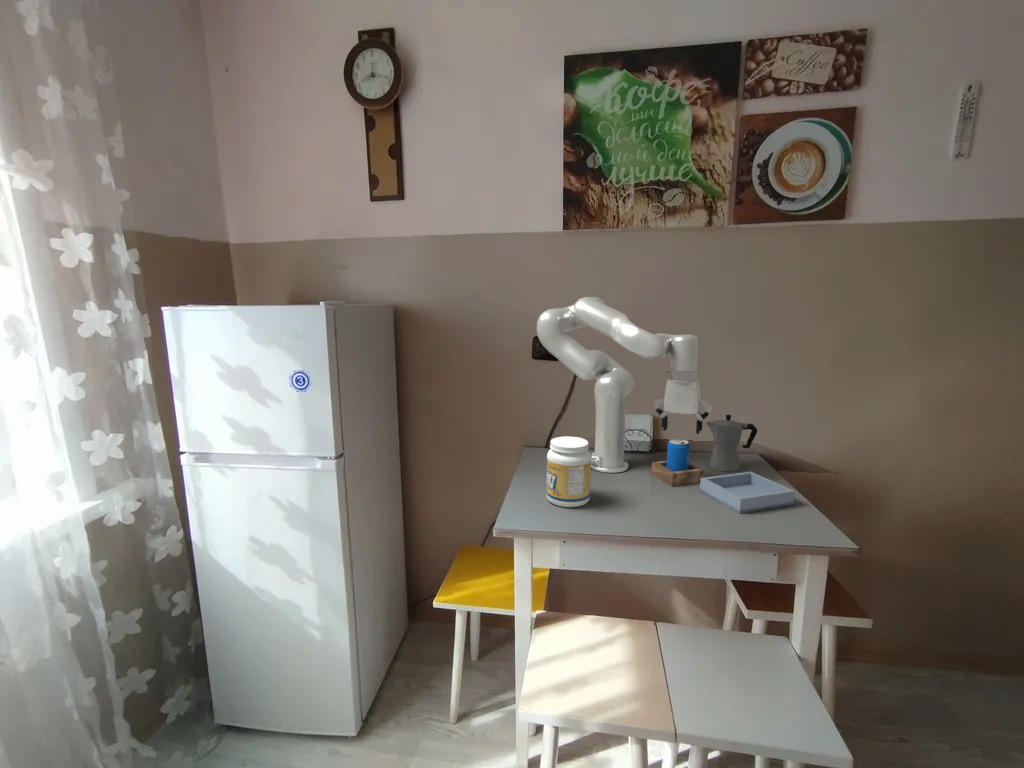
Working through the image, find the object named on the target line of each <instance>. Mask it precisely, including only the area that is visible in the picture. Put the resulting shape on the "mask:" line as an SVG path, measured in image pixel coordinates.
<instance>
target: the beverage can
mask: <svg viewBox="0 0 1024 768" xmlns="http://www.w3.org/2000/svg"><path fill="white" fill-rule="evenodd" d="M690 447H691V445H690V444H689V441H688V440H687V439H682V438H671V439H669V441H668V443H667V451H666V461H667V465H666V468H668V469H670V470H672V471H674V472H676V471H684V470H688V466H689V463H690V462H689V461H690Z"/></svg>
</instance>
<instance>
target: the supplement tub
mask: <svg viewBox="0 0 1024 768" xmlns="http://www.w3.org/2000/svg"><path fill="white" fill-rule="evenodd" d="M589 447H590V446H589V441H588V440H587V439H584V438H583V437H577V436H559V437H554V438H552V439H551V440H550V446H549V448H550V449H548V452H547V453H546V454H547V455H546V492H545V493H546V494H545V495H546V499H547V500H548V502H550V503H551V504H553V505H555V506H557V507H562V508H576V507H582V506H584V505H586V504H587V503H588V502H589V501H590V498H591V483H592V482H591V481H592V480H591V479H592V478H591V477H592V468H591V459H592V458H591V455H592V453H591V451H589Z"/></svg>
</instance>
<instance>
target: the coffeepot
mask: <svg viewBox="0 0 1024 768" xmlns="http://www.w3.org/2000/svg"><path fill="white" fill-rule="evenodd" d="M731 418H732V415H731V414H726V415H725V419H719V420H718V419H717V420H714V421H712V420H711V421H707V422H706V423H705V424H706V425H707V426H708V427H709V429H710V431H711V433H712V435H713V442H714V443H715V444H714V446H715V447H714V448H713V450H712V455H711V458H710V462H709V466H710V468H711V467H712V468H711V469H712V470H715V469H716V470H715V471H718V470H720V471H719V472H723V471H725V472H726V473H735V471H736V472H738V471H739V470H740V469H741V466H740V465H741V463H740V456H739V450H738V446H739V444H740V442H741V437H742V432H743V431H744V430H750V431H751V432H750V433H749V436H748V439H747V441H746V444H742V448H743V449H749V448H750V449H751V445H752V443H753V442H754V440H755V437H756V435H757V433H758V428H757V427H756V426H755V424H753V423H746V422H739V421H736V420H735V421H734V420H731ZM725 472H724V473H725Z"/></svg>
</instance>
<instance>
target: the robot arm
mask: <svg viewBox="0 0 1024 768" xmlns="http://www.w3.org/2000/svg"><path fill="white" fill-rule="evenodd" d="M584 327H589V328H591V329H592V330H594V331H597V332H599V333H601V334H603V335H605V336H607V337H609V339H610V338H611V339H612V340H613V341H614V342H616V343H618V345H620V346H621V347H623V348H625V349H626V350H628V351H630V352H631V353H634V354H636V356H637V355H638V356H639V357H641V358H644V359H646V360H649V361H658V360H661V359H663V358H666V357H667V358H668V357H670V370H668V371H665V373H664V374H665V377H669V379H667V381H666V385H665V391H664V397H663V398H661V399H658V400H656V401H653V403H652V405H653V407H654V409H655V411H656V413H657V414H658V415H659V416H660V417H661V425H660V426H661V428H662V429H663V431H667V430H668V423H669V422H668V419H669V418H668V416H667V415H668V414H675V415H676V414H677V415H686V416H687V415H688V416H695V418H696V424H695V425H696V426H695V433H696V435H699V434H700V432H702V431H703V420H704V419H706V418H707V417H709V415H710V413H711V412H712V410H713V408H714V407H713V405H711V404H710V403H707V402H706V401H704V400H702V399H701V388H700V387H701V385H700V382H699V380H697V376H698V375H697V372H698V352H699V350H698V348H699V339H698V337H697V335H694V334H669V333H663V332H662V333H655V334H653V333H651V332H650V331H649V332H648V330H645V329H643V328H641V327H639V326H637V325H636V324H634V323H633V322H631V320H630V319H629V318H628V316H627V315H626V314H625V313H624V312H621V311H619V310H617V309H615V308H613V307H610V306H608V305H607V304H606V303H605V301H604V300H602V299H601V298H600V297H596V296H585V297H581V298H579V299H578V300H577V301H576V302H575V303H574V304H571V305H569V306H565V307H561V308H560V307H559V308H557V307H556V308H549V309H547V310H545V311H543V312H542V313H541V314H540V315H539V317H538V319H537V322H536V334H537V338H538V339H539V341H540V343H541V345H542V346H543V347H544V348H545V350H546V351H548V352H549V353H550V354H551V355H553V356H554V357H555V358H556V359H557V360H558V361H559V362H561V363H562V364H563V366H565V367H566V368H567V369H568V370H570V371H571V372H572V373H573V374H574V375H575V376H576V377H577V378H579V379H581V380H582V381H590V380H596V382H595V384H594V385H595V386H594V392H593V393H594V394H593V395H594V402H595V433H594V434H595V435H594V436H595V437H594V452H591V458H592V459H591V469H592V470H595V471H598V472H600V473H609V474H610V473H611V474H615V473H622V472H625V471H627V470H628V469H629V463H628V462H627V461H625V438H626V437H625V436H626V434H625V433H626V404H625V397H627V396H628V395H630V393H631V392H632V391H633V390H634V386H635V381H634V378H633V375H632V374H631V373H630V372H629V371H628V370H627V369H625V368H624V367H623V366H622V365H620V364H619V363H618V362H617V361H616V360H615V359H613V358H612V357H611V356H610V355H608V354H607V353H606V352H604V351H602V350H599V349H590V350H588V349H587V348H585V347H584V346H582V345H581V344H580V343H579V342H578V341H576V340H575V339H574V338H572V337H571V336H569V335H568V334H566V333H569V332H572V331H576V330H578V329H582V328H584ZM662 404H663V409H662V408H661V407H660V405H662ZM701 407H703V408H704V409H706V411H705V412H704V413H702V412H701V411H700V410H701Z"/></svg>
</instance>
